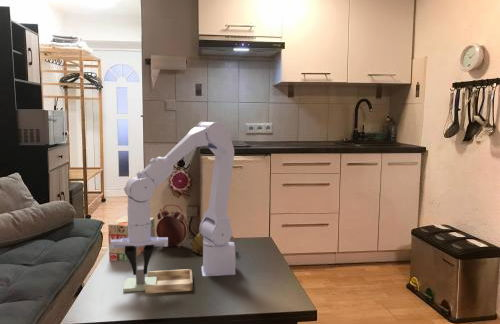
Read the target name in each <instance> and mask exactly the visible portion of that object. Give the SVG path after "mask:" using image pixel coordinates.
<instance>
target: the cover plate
mask: <svg viewBox="0 0 500 324" xmlns="http://www.w3.org/2000/svg"><path fill="white" fill-rule="evenodd" d="M156 282H157V277H148V276H146V274H144V265H141V266H140V265H139V266H138V265H137V268H136V275H135V277H126V280H125V282H124V286H123V288H122V292H123V293H127V292H130V293H131V292H145V285H156Z"/></svg>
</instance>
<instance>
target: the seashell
mask: <svg viewBox="0 0 500 324" xmlns="http://www.w3.org/2000/svg"><path fill="white" fill-rule="evenodd" d="M229 242H234V243H235V239H234V236H233V235H232V236H231V239H230V240H229ZM189 244H190V246H191V250H192V253H194V252H195V253H196V254H198V255H201V256H203V236H202V235H201V233H200V230H199V229H198V232H197V233H195V237H194V238H193V239H192V242H191V243H189Z"/></svg>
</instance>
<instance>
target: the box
mask: <svg viewBox="0 0 500 324" xmlns="http://www.w3.org/2000/svg"><path fill="white" fill-rule="evenodd" d="M192 271H193V269H192V268H186V269H170V270H169V269H168V270H153V271H151V270H150V271H149V270H147V277H157V282H156V285H145V291H144V294H158V293H175V292H189V291H192V292H193V290H194V289H193V287H194V286H193V272H192Z"/></svg>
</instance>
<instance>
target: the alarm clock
mask: <svg viewBox="0 0 500 324" xmlns="http://www.w3.org/2000/svg"><path fill="white" fill-rule="evenodd" d="M166 207H177V208H178V209H179V210H177V211H175V212H174V211H171V212H170V211H168V210H167V209H165V208H166ZM156 216H157V220H158V222H157V224H156V227H155V233H156V235H157V236H156V237H168V246H167V247H174V246H177V247H178V248H180V244H181V245H182V246H183V247H184V246H185V244H184V240H186V238H187V237H188V234H189V230H190V229H189V224H188V222H187V220H186V219H187V213H186V211H185V210H184V209H181V207H180V206H179V205H177V204H166V205H164V206H163V209H161V208H160V209H159V212H158V213H157V215H156Z"/></svg>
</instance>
